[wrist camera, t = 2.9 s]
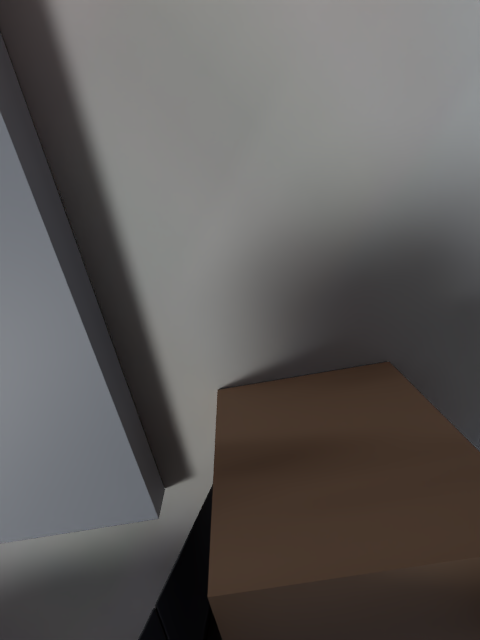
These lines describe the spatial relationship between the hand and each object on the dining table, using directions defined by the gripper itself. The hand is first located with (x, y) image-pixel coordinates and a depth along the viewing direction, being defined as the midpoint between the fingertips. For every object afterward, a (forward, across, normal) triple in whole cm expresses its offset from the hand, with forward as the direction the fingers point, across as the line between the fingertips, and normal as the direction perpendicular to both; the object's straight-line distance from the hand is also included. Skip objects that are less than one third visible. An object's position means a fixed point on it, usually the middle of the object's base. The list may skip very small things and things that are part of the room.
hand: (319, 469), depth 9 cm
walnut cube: (+1, 0, 0) cm, 1 cm away
